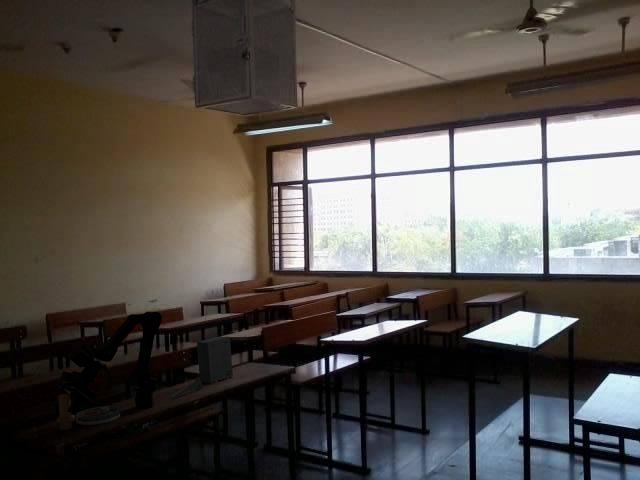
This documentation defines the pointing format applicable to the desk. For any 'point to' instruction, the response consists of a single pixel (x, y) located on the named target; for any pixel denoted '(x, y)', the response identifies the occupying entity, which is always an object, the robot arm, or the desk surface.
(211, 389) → the desk surface
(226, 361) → the hard drive box
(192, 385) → the caliper
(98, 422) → the carrier plate
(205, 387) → the desk surface
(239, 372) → the desk surface
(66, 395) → the brown waisted peg
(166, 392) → the desk surface
